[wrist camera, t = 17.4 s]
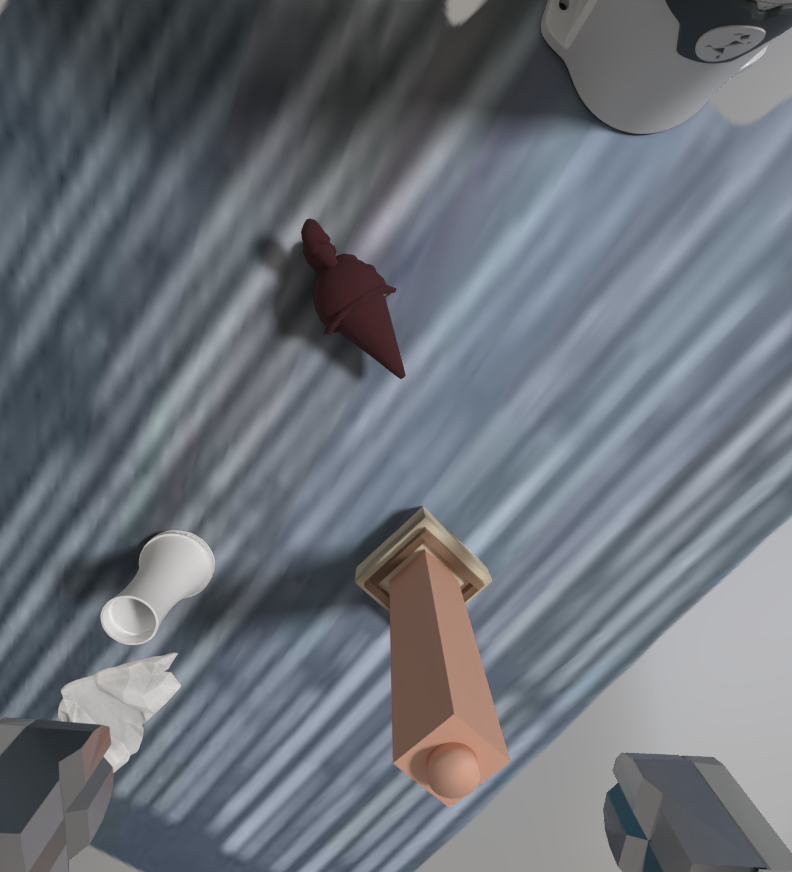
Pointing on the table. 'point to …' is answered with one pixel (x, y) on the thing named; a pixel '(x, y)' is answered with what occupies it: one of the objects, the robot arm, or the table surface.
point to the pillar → (439, 686)
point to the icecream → (351, 298)
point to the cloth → (120, 701)
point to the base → (409, 544)
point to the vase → (158, 585)
